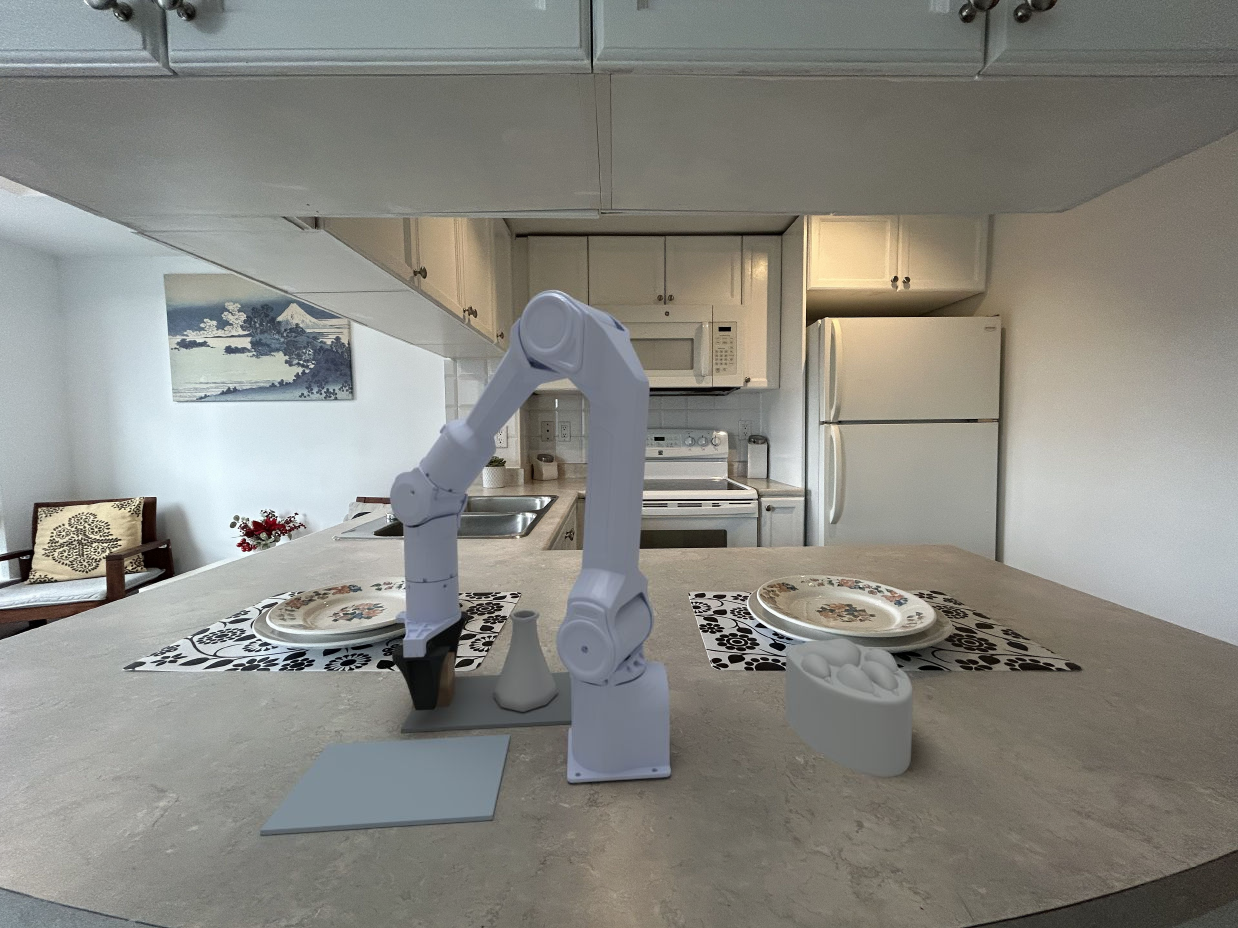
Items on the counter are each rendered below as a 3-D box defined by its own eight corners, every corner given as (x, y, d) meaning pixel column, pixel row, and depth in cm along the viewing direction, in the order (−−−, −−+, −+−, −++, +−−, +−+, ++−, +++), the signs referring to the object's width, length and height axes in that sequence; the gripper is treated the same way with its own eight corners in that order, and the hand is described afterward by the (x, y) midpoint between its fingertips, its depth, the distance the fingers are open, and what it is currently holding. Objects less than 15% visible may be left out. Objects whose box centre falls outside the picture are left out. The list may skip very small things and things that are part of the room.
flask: (529, 675, 65) (527, 598, 64) (569, 693, 60) (568, 611, 60) (481, 698, 59) (479, 615, 59) (521, 720, 55) (520, 630, 54)
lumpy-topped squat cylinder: (855, 697, 60) (857, 626, 60) (942, 770, 47) (946, 680, 47) (773, 706, 58) (774, 632, 58) (840, 783, 46) (843, 690, 45)
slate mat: (510, 738, 52) (510, 734, 52) (492, 819, 41) (492, 815, 41) (328, 747, 51) (328, 743, 51) (260, 834, 40) (260, 830, 40)
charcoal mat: (573, 674, 66) (572, 634, 65) (572, 723, 55) (571, 675, 54) (430, 680, 64) (429, 639, 64) (400, 732, 53) (398, 683, 53)
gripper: (416, 559, 65) (419, 662, 66) (370, 597, 50) (375, 728, 51) (472, 558, 65) (475, 660, 66) (442, 595, 51) (446, 724, 52)
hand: (435, 690), depth 59 cm, fingers open, 7 cm apart
